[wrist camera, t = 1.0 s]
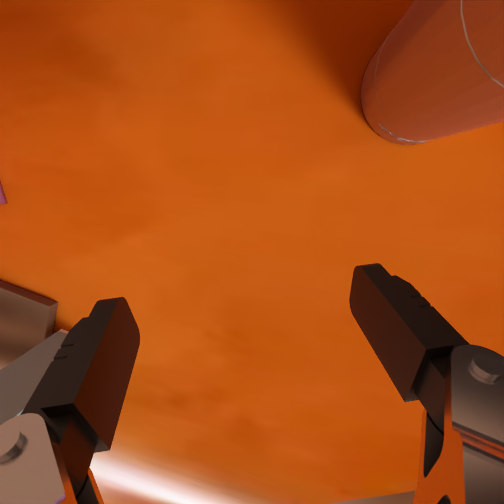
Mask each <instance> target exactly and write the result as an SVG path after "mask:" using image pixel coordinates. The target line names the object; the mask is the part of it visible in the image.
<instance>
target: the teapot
mask: <svg viewBox="0 0 504 504" xmlns="http://www.w3.org/2000/svg"><path fill="white" fill-rule="evenodd" d="M5 203H7V201H6V197H5V194H4V191H3V188H2V185H1V181H0V204H5Z"/></svg>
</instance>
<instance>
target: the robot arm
mask: <svg viewBox="0 0 504 504" xmlns="http://www.w3.org/2000/svg"><path fill="white" fill-rule="evenodd" d="M361 104H362V110H363V113H364V115H365V118H366V120H367V122H368V123H369V125H370V126H371V128H372V129H373V130H374V131H375V132H376V133H377V134H378V135H380V136H381V137H382V138H384V139H386V140H388V141H390V142H393V143H398V144H408V145H413V144H418V143H423V142H427V141H431V140H434V139H438V138H442V137H446V136H450V135H454V134H458V133H461V132H465V131H469V130H473V129H476V128H480V127H484V126H488V125H491V124H495V123H499V122H503V121H504V0H414V2H413V3H412V4H411V6H410V7H409V8H408V10H407V11H406V13H405V14H404V15H403V17H402V18H401V19H400V21H399V22H398V23H397V25H396V26H395V27H394V28H393V30H392V31H391V32H390V34H389V35H388V37H387V38H386V39H385V41H384V42H383V43H382V45H381V46H380V47H379V49H378V50H377V52H376V53H375V55H374V56H373V58H372V59H371V61H370V62H369V64H368V66H367V69H366V71H365V74H364V77H363V81H362V86H361ZM349 302H350V308H351V312H352V314H353V316H354V318H355V320H356V321H357V323H358V325H359V326H360V328H361V330H362V331H363V333H364V335H365V336H366V338H367V340H368V341H369V343H370V345H371V346H372V348H373V350H374V351H375V353H376V355H377V356H378V358H379V360H380V361H381V363H382V365H383V366H384V368H385V370H386V371H387V373H388V375H389V377H390V378H391V380H392V382H393V383H394V385H395V387H396V388H397V390H398V392H399V393H400V395H401V397H402V398H403V400H404V402H408V401H414V400H420V402H421V403H422V405H423V406H424V408H425V409H424V411H423V415H422V429H421V443H420V458H419V472H418V482H417V488H416V492H415V495H414V499H413V503H412V504H504V357H503V356H502V355H500V354H498V353H496V352H494V351H492V350H490V349H487V348H484V347H481V346H477V345H470V344H469V343H468V342H467V341H466V340H465V339H464V338H463V337H462V336H461V335H460V334H459V333H458V332H457V331H456V330H455V329H454V328H453V327H452V326H451V325H450V324H449V323H448V322H447V321H446V320H445V319H444V318H443V317H442V316H441V314H440V313H439V312H438V311H437V310H436V309H435V308H434V307H433V306H432V307H431V306H430V303H429V302H428V301H427V300H426V299H425V298H424V297H422V296H421V294H420V293H419V292H418V291H417V290H416V289H415V288H414V287H413V286H412V285H411V284H410V283H408V282H406V281H405V280H403V279H401V278H400V277H398V276H396V275H395V276H391V275H390V274H389V273H388V272H387V271H386V270H385V269H384V267H383V266H382V265H380V264H378V263H375V264H368V265H360V266H356V267H355V269H354V272H353V279H352V285H351V292H350V299H349ZM139 344H140V333H139V329H138V326H137V324H136V321H135V319H134V317H133V315H132V312H131V310H130V308H129V305H128V303H127V301H126V299H125V298H124V297H119V298H111V299H104V300H99V301H97V302H96V304H95V306H94V308H93V309H92V311H91V313H90V315H89V317H86V318H82V319H81V320H80V321H79V322H78V323H77V324H76V325H75V326H74V327H73V328H72V329H71V330H70V331H69V332H68V334H67V336H66V337H65V339H64V341H63V342H62V344H61V348H60V349H58V351H57V353H56V354H55V356H54V361H51V363H50V365H49V367H48V368H47V370H46V372H45V373H44V375H43V377H42V379H41V380H40V382H39V384H38V386H37V387H36V389H35V391H34V392H33V394H32V396H31V398H30V399H29V401H28V403H27V405H26V406H25V408H24V410H23V411H22V413H21V414H20V415H19V416H16V417H14V418H12V419H10V420H8V421H6V422H4V423H3V424H1V425H0V504H104V502H103V500H102V497H101V495H100V492H99V489H98V487H97V484H96V481H95V479H94V476H93V473H92V471H91V469H90V468H89V466H90V463H91V460H92V457H93V454H94V453H96V452H102V451H108V450H110V448H111V444H112V441H113V437H114V434H115V430H116V427H117V423H118V420H119V416H120V412H121V409H122V405H123V402H124V398H125V395H126V391H127V388H128V384H129V380H130V377H131V373H132V370H133V366H134V363H135V359H136V356H137V352H138V348H139Z"/></svg>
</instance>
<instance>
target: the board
mask: <svg viewBox="0 0 504 504" xmlns="http://www.w3.org/2000/svg"><path fill="white" fill-rule="evenodd" d="M57 304H58V302H56V301H53V300H51V299H48V298H45V297H43V296H40V295H37V294H35V293H32V292H29V291H27V290H24V289H21V288H19V287H16V286H14V285H11V284H8V283H6V282H3V281H0V370H1V369H2V368H4V367H5V366H7V365H8V364H10V363H11V362H13V361H14V360H16V359H17V358H19V357H20V356H22V355H23V354H25V353H26V352H28V351H29V350H31V349H32V348H34V347H35V346H37V345H38V344H39V343H41V342H42V341H44V340H45V339H47V338H48V337H50V336H51V335H53V329H54V322H55V316H56V310H57Z"/></svg>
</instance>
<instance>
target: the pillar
mask: <svg viewBox="0 0 504 504" xmlns="http://www.w3.org/2000/svg"><path fill="white" fill-rule="evenodd" d="M68 332H69V331H66V330H64V329H60V330H59V331H57V332H56V333H54V334H53V335H51V336H50V337H48V338H47V339H45V340H44V341H42V342H41V343H39V344H38V345H37V346H35V347H34V348H32V349H31V350H29V351H28V352H26V353H25V354H23V355H22V356H20V357H19V358H17V359H16V360H14V361H13V362H11V363H10V364H8V365H7V366H5V367H4V368H2V369H1V370H0V425H1V424H3V423H4V422H6V421H8V420H10V419H12V418H14V417H16V416H19V415H20V414H21V413H22V411H23V410H24V408H25V406H26V405H27V403H28V401H29V399H30V398H31V396H32V394H33V392H34V391H35V389H36V387H37V386H38V384H39V382H40V380H41V379H42V377H43V375H44V373H45V372H46V370H47V368H48V367H49V365H50V363H51V361H54V356H55V354H56V353H57V351H58V349H60V348H61V344H62V342H63V341H64V339H65V337H66V336H67V334H68Z"/></svg>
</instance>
